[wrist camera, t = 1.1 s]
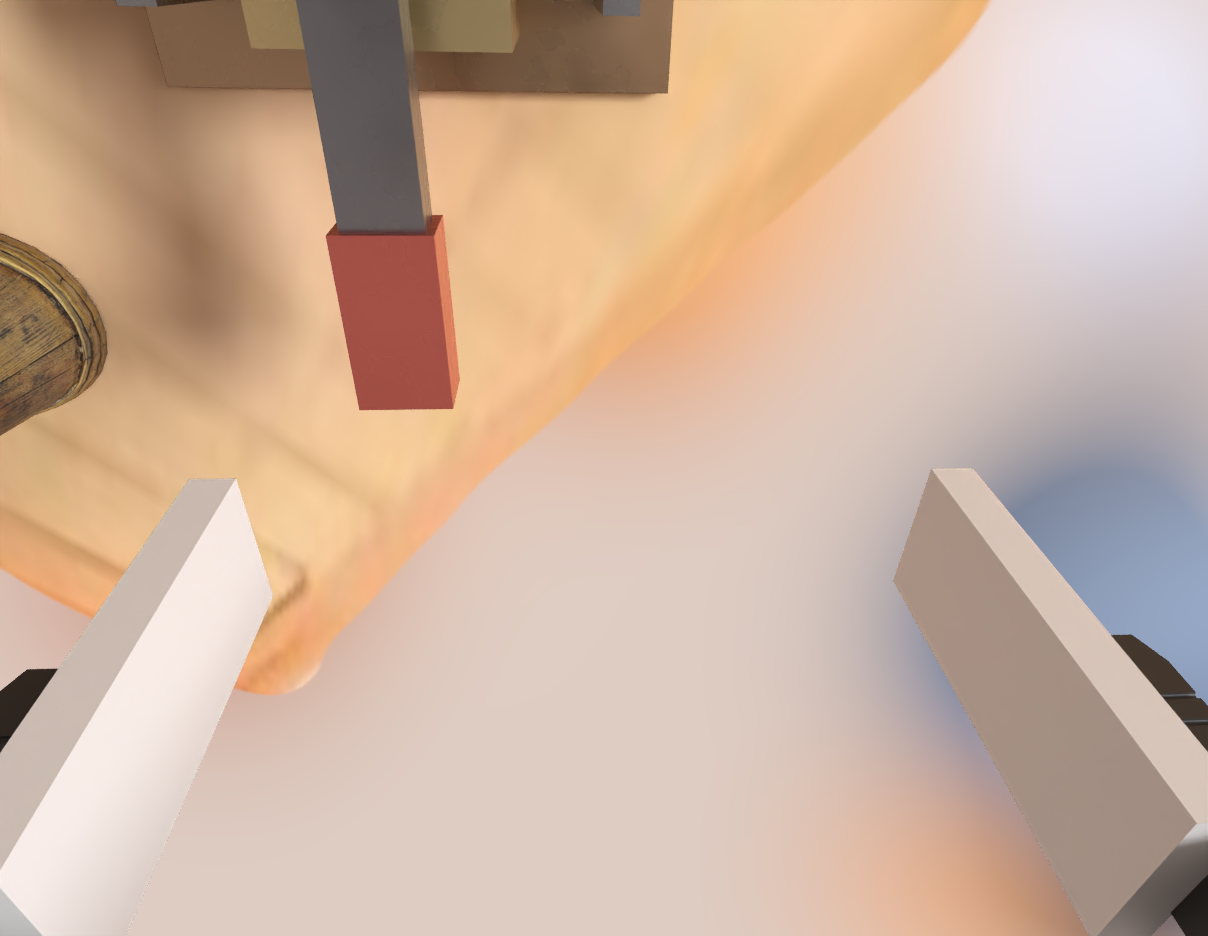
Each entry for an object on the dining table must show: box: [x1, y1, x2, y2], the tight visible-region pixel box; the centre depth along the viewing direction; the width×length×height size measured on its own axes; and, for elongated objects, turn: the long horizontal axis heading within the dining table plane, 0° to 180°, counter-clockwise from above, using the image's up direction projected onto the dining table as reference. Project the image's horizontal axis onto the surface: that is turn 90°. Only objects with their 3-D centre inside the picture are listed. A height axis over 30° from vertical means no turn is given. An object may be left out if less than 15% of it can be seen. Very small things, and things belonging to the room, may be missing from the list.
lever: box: [296, 0, 460, 410], centre depth 22 cm, size 16×4×2 cm, turn 179°
